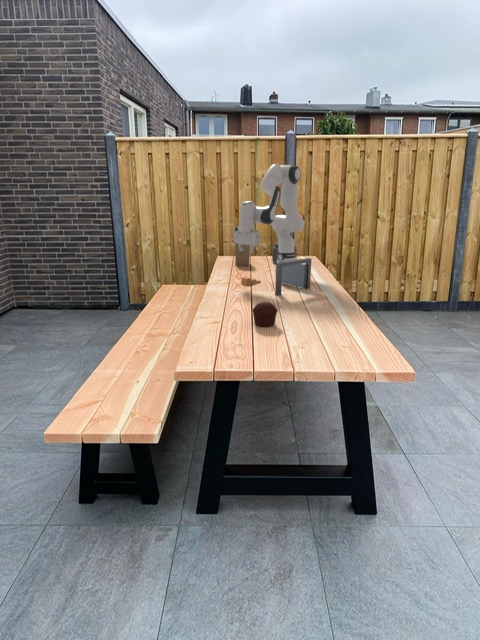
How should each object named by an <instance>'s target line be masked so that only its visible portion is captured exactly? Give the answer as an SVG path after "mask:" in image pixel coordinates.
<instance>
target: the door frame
mask: <svg viewBox="0 0 480 640" xmlns="http://www.w3.org/2000/svg"><path fill="white" fill-rule="evenodd" d="M296 264H305V265H307V272H306V290H309V289H311V275H312V273H311V272H312V258H309V257H307V258H305V257H304V258H301V259H298V260H293V261H287V262H281V263H276V264H275V269H276V270H275V271H276V272H275V286H274V287H275V291H274V292H275V294H274V295H275V296H281V295H282V285H283V283H282V267H285V266H290V265H296Z"/></svg>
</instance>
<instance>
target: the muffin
mask: <svg viewBox="0 0 480 640" xmlns="http://www.w3.org/2000/svg"><path fill="white" fill-rule="evenodd" d="M251 311H252V315H253V322H254V325H255V326H256V327H258V328H272V327H274V326H275V324H276V319H277V313H278V308H277V307H276V305H275V304H273V303H272V302H269V301H263V302H262V301H261V302H259V303H257V304H256V305H254V307H253V309H252V310H251Z"/></svg>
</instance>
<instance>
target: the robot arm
mask: <svg viewBox="0 0 480 640" xmlns="http://www.w3.org/2000/svg"><path fill="white" fill-rule="evenodd" d="M301 176H302V175H301V169H300V167H299V166H298V165H294V164H292V165H290V164H281V165H280V164H276V163H275V164H272V165H270V167H269V168H268V169H267V170H266V172H265V174H264V176H263V177H262V179H261V182H260V183H261V184H260V185H261V189H262V191H263V192H264V193H265V194H266V195H268V196H270V199H269V202H268V205H266V206H257V205H256V204H255V202H254V201H253V200H245V201H242V202H241V203H240V207H239V220H240V221H239V225H238V226H235V227H233V231H234V232H233V242H234V244H235V243H238V246H239V248H240V251H243V248H242V244H245V245H250V248H251V249H250V254H254V250H255V249H256V247H259V246H260V244H261V241H260V240H261V239H260V233H259V231H258V230H257V229H255V224H256V223H257V224H264V225H271V227H272V229H273V230H274V231H275V233H276V237H277V242H278V254H277V255H278V256H277V257H278V259H277V263H279V260H284V261H293V260H299V259H298V257H297V258H296V255H297V256H299V252H298V251H297V252H294V246H295V247H296V243H295V239H294V238H293V237H292V236H291V233H299V232H302V231H303V230H304V227H305V221H304V218H303V217H302V216H301V215H300V213H299V210H298V209H299V208H298V195H299V194H298V193H299V191H298V190H299V188H298V187H299V186H298V182H299V180H300V179H301ZM280 185H281V188H280ZM279 201H280V203H279ZM279 204H280V207H281V209H283V210H284V213H285V214H278V215H277V213H276V212H277V209H278V206H279ZM289 232H291V233H289ZM274 271H275V273H276V268H275V270H274Z"/></svg>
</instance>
